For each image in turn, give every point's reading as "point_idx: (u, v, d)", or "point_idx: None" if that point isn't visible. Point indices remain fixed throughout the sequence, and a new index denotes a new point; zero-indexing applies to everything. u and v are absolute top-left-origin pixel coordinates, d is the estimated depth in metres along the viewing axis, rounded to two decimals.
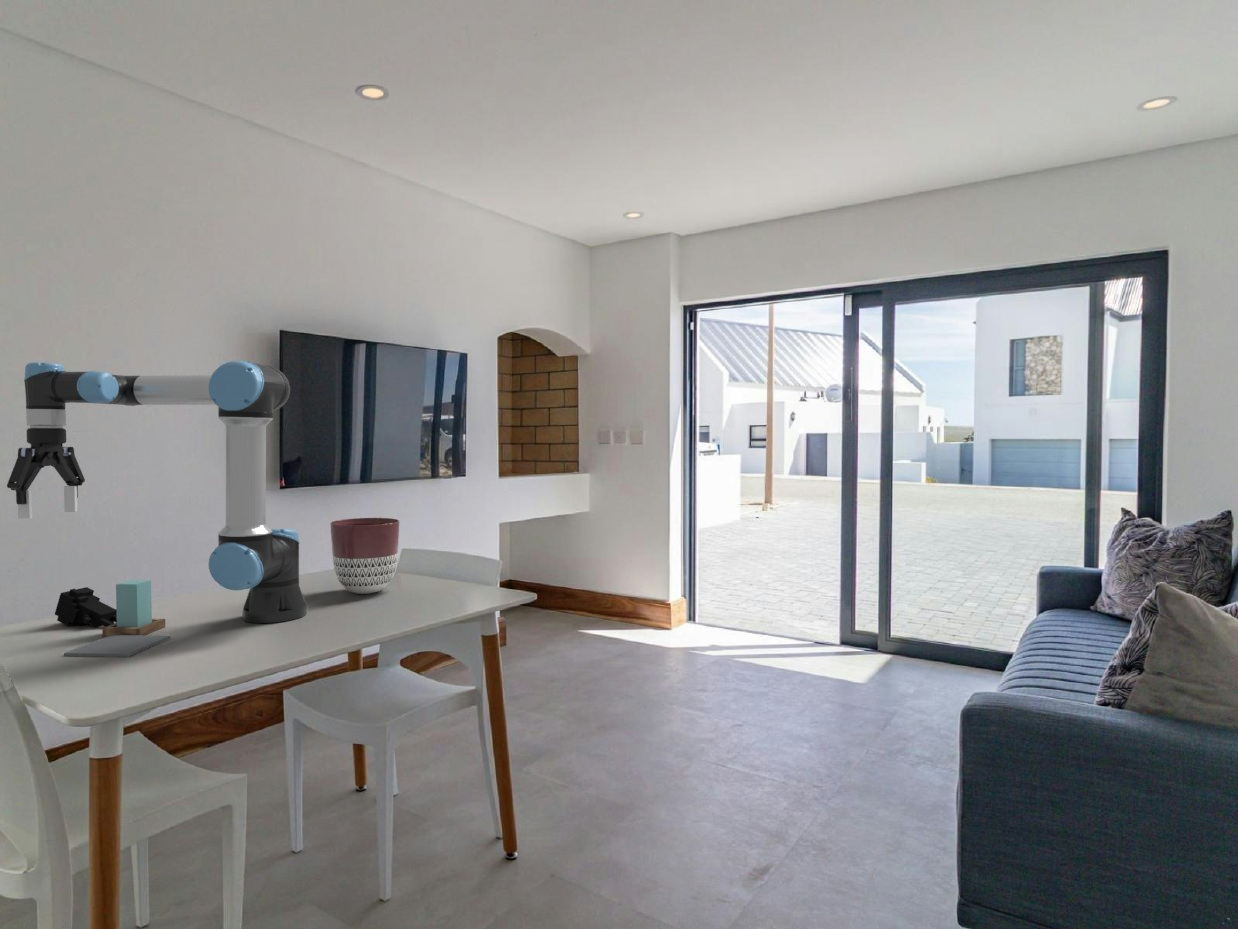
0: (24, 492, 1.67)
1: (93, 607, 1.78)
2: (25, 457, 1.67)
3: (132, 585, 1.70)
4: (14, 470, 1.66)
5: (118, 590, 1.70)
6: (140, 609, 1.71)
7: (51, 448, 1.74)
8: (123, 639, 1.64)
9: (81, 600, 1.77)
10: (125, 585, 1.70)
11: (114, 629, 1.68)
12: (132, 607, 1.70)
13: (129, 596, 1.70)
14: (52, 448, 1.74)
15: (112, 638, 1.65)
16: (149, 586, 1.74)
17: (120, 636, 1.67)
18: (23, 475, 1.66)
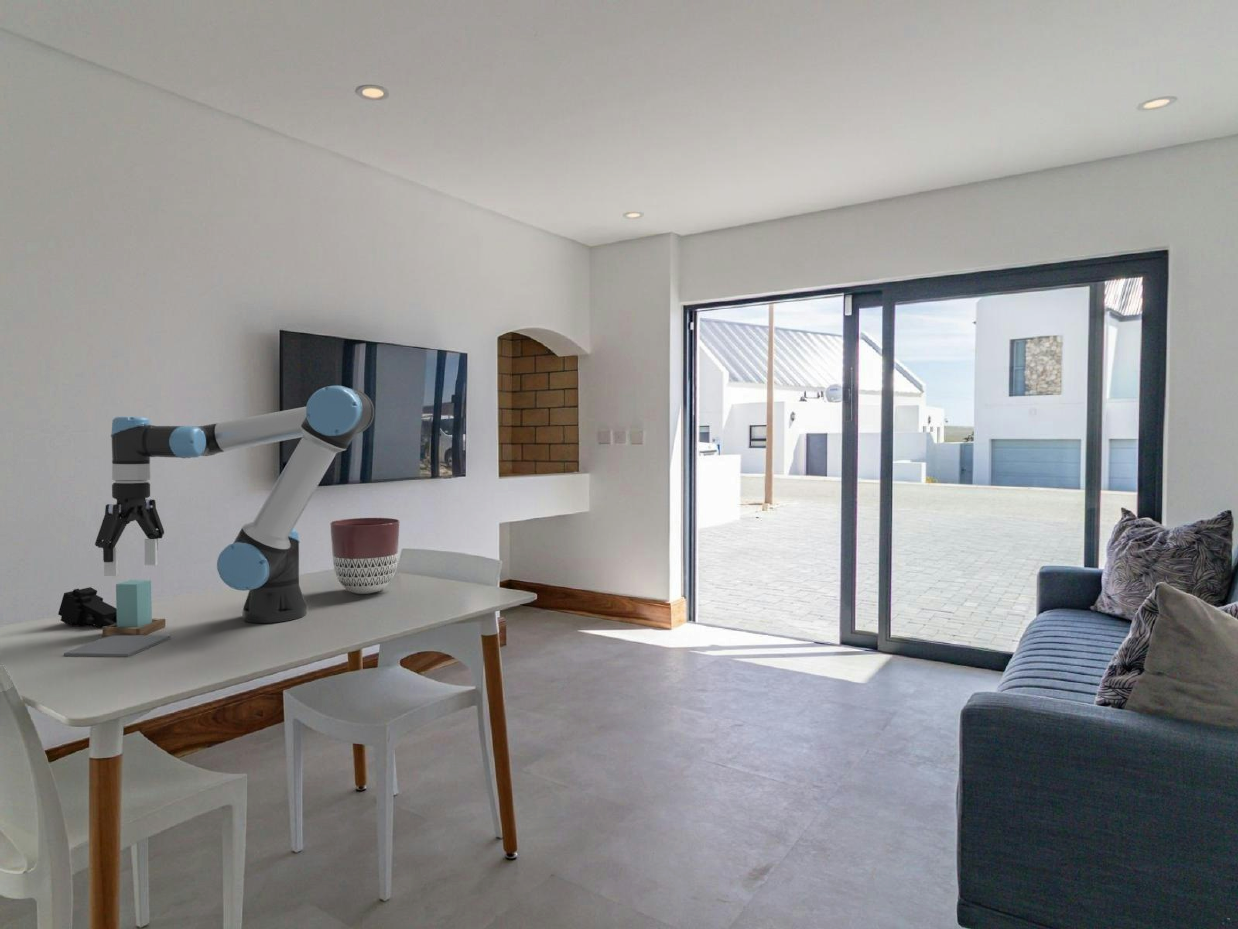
0: (111, 550, 1.64)
1: (96, 607, 1.78)
2: (112, 514, 1.65)
3: (132, 585, 1.70)
4: (102, 527, 1.63)
5: (118, 590, 1.70)
6: (140, 609, 1.71)
7: (135, 503, 1.72)
8: (123, 639, 1.64)
9: (84, 600, 1.77)
10: (125, 585, 1.70)
11: (114, 629, 1.68)
12: (132, 607, 1.70)
13: (129, 596, 1.70)
14: (136, 503, 1.72)
15: (112, 638, 1.65)
16: (149, 586, 1.74)
17: (120, 636, 1.67)
18: (111, 533, 1.64)
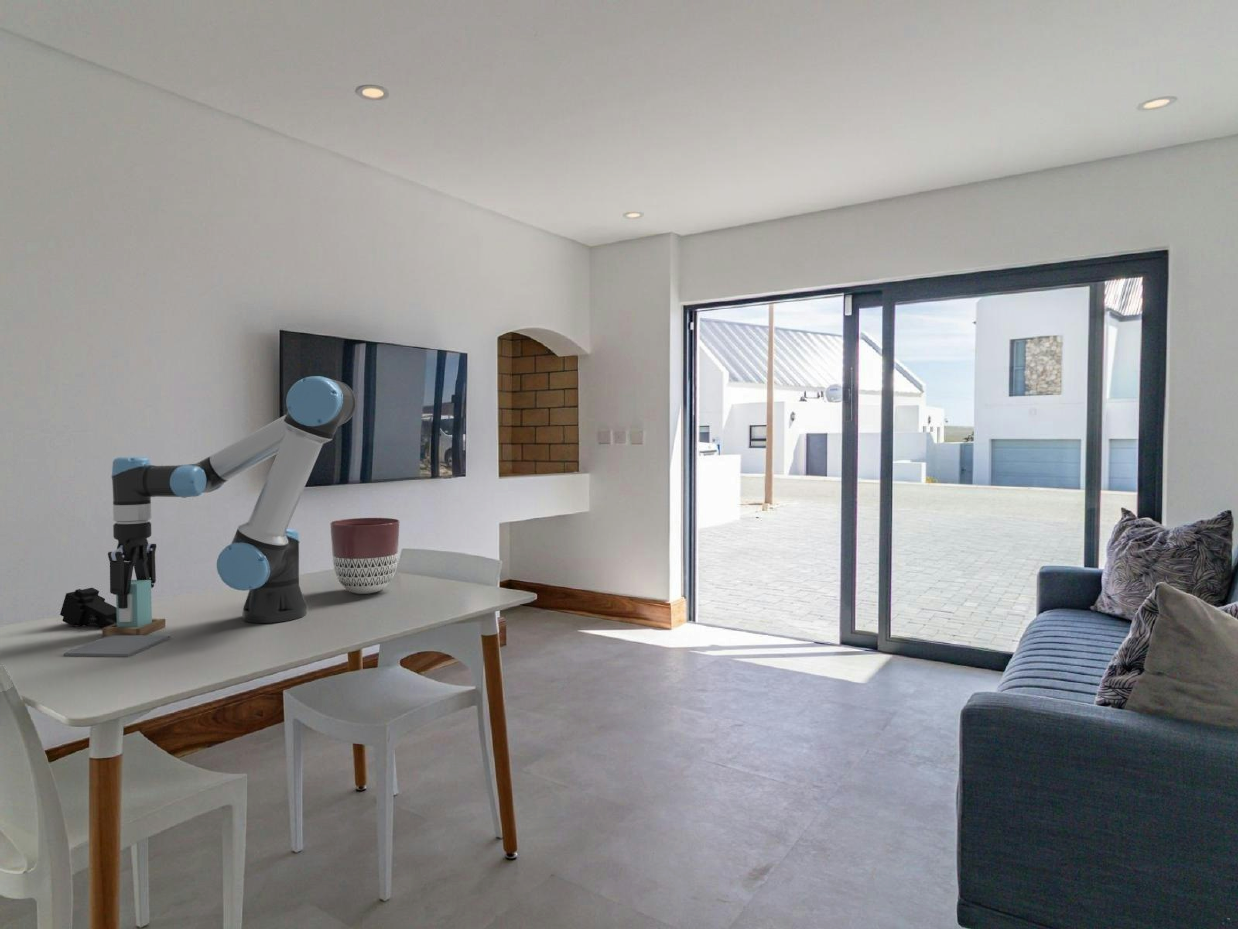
0: (125, 596, 1.69)
1: (98, 607, 1.78)
2: (117, 562, 1.66)
3: (132, 585, 1.70)
4: (111, 576, 1.66)
5: None
6: (140, 609, 1.71)
7: (137, 543, 1.72)
8: (123, 639, 1.64)
9: (86, 600, 1.77)
10: None
11: (114, 629, 1.68)
12: (132, 607, 1.70)
13: None
14: (138, 542, 1.72)
15: (112, 638, 1.65)
16: (149, 586, 1.74)
17: (120, 636, 1.67)
18: (122, 580, 1.67)
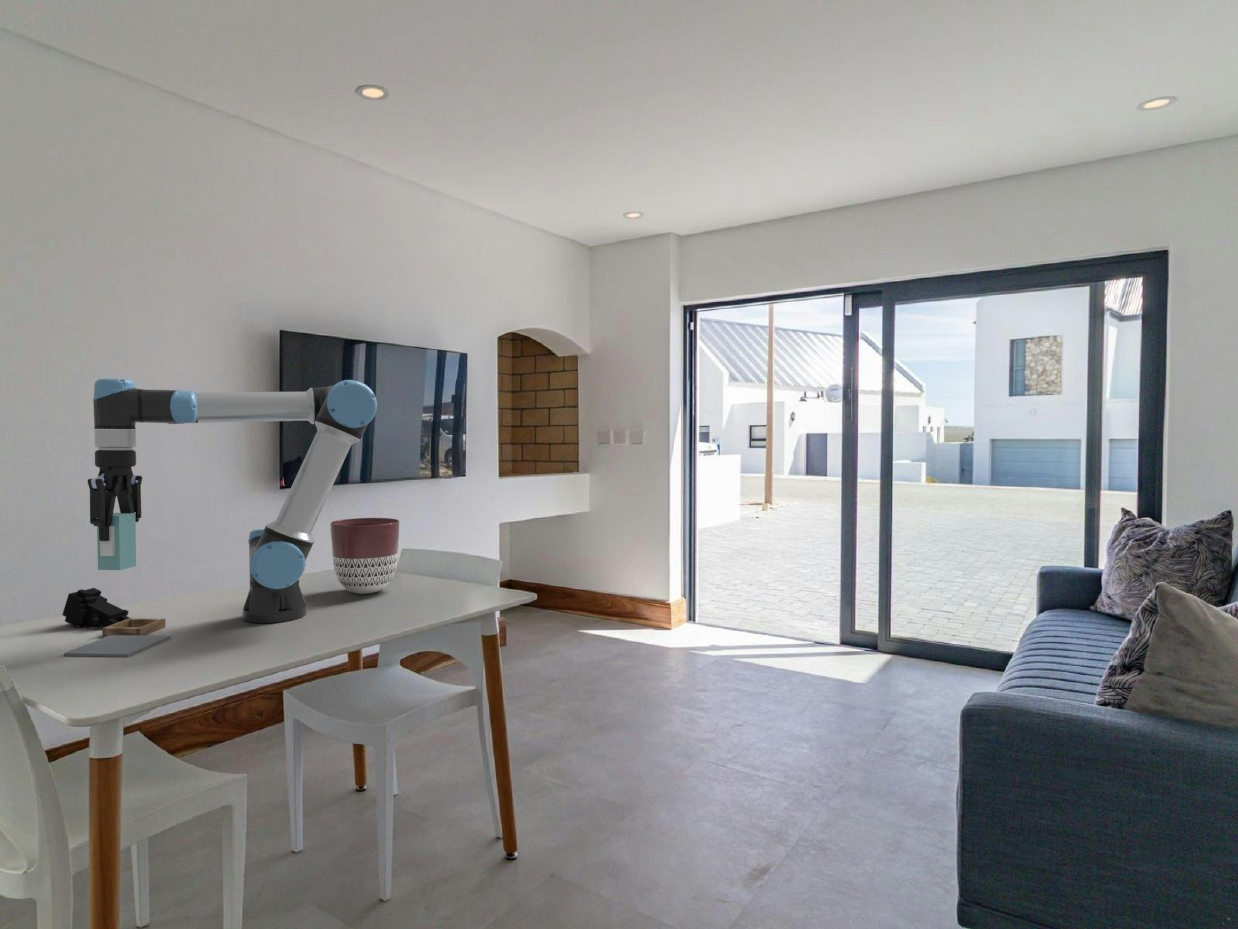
0: (107, 528, 1.57)
1: (101, 607, 1.77)
2: (98, 490, 1.54)
3: (114, 516, 1.58)
4: (91, 505, 1.54)
5: None
6: (123, 543, 1.59)
7: (120, 472, 1.60)
8: (123, 639, 1.64)
9: (89, 601, 1.77)
10: None
11: (114, 629, 1.68)
12: None
13: None
14: (121, 472, 1.60)
15: (112, 638, 1.65)
16: (133, 519, 1.62)
17: (120, 636, 1.67)
18: (103, 509, 1.55)
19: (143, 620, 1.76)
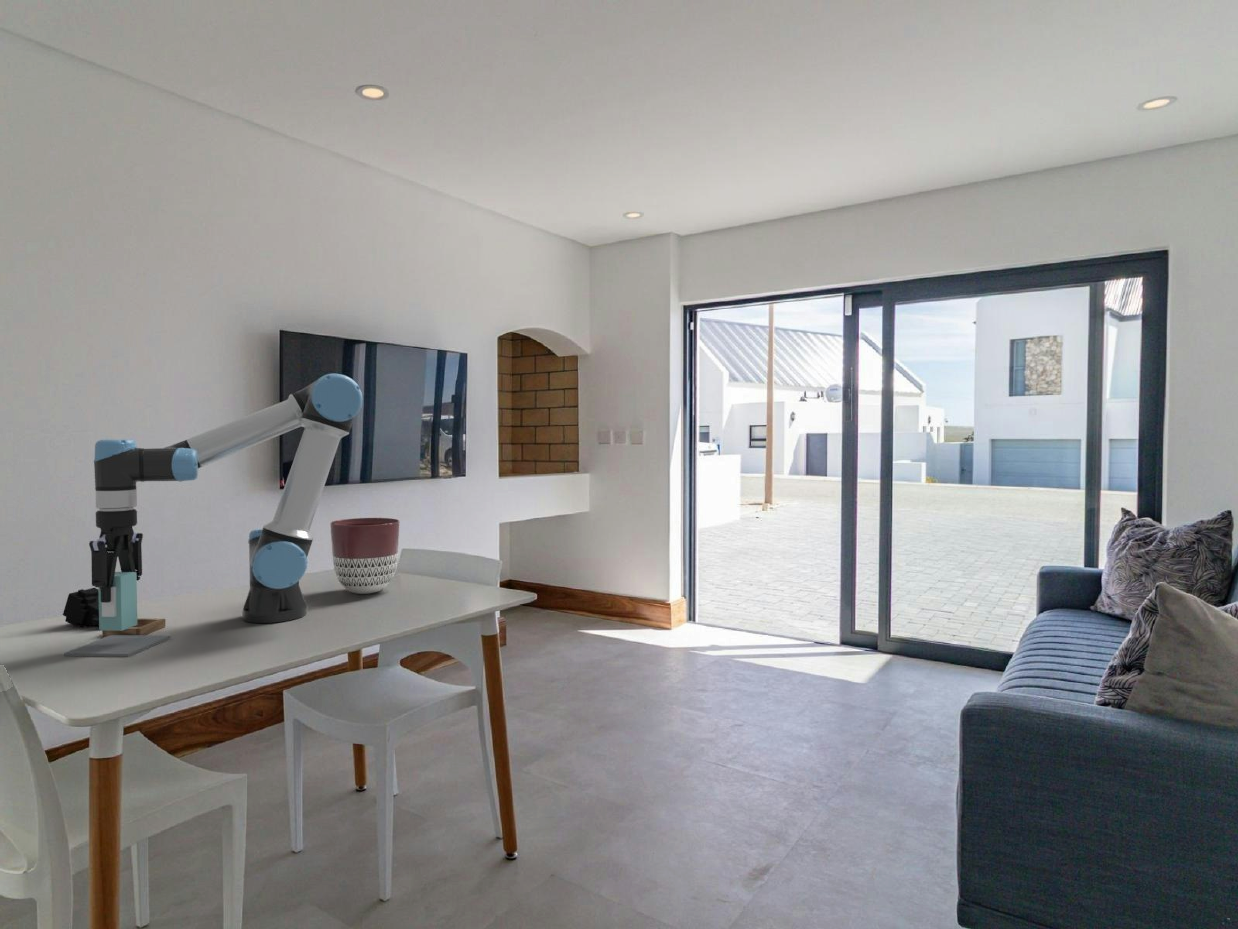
0: (109, 589, 1.57)
1: None
2: (100, 552, 1.54)
3: (116, 577, 1.58)
4: (93, 567, 1.54)
5: None
6: (124, 603, 1.59)
7: (121, 532, 1.60)
8: (123, 639, 1.64)
9: (89, 601, 1.77)
10: None
11: None
12: None
13: None
14: (122, 531, 1.60)
15: (112, 638, 1.65)
16: (134, 578, 1.62)
17: (120, 636, 1.67)
18: (104, 571, 1.55)
19: (143, 620, 1.76)
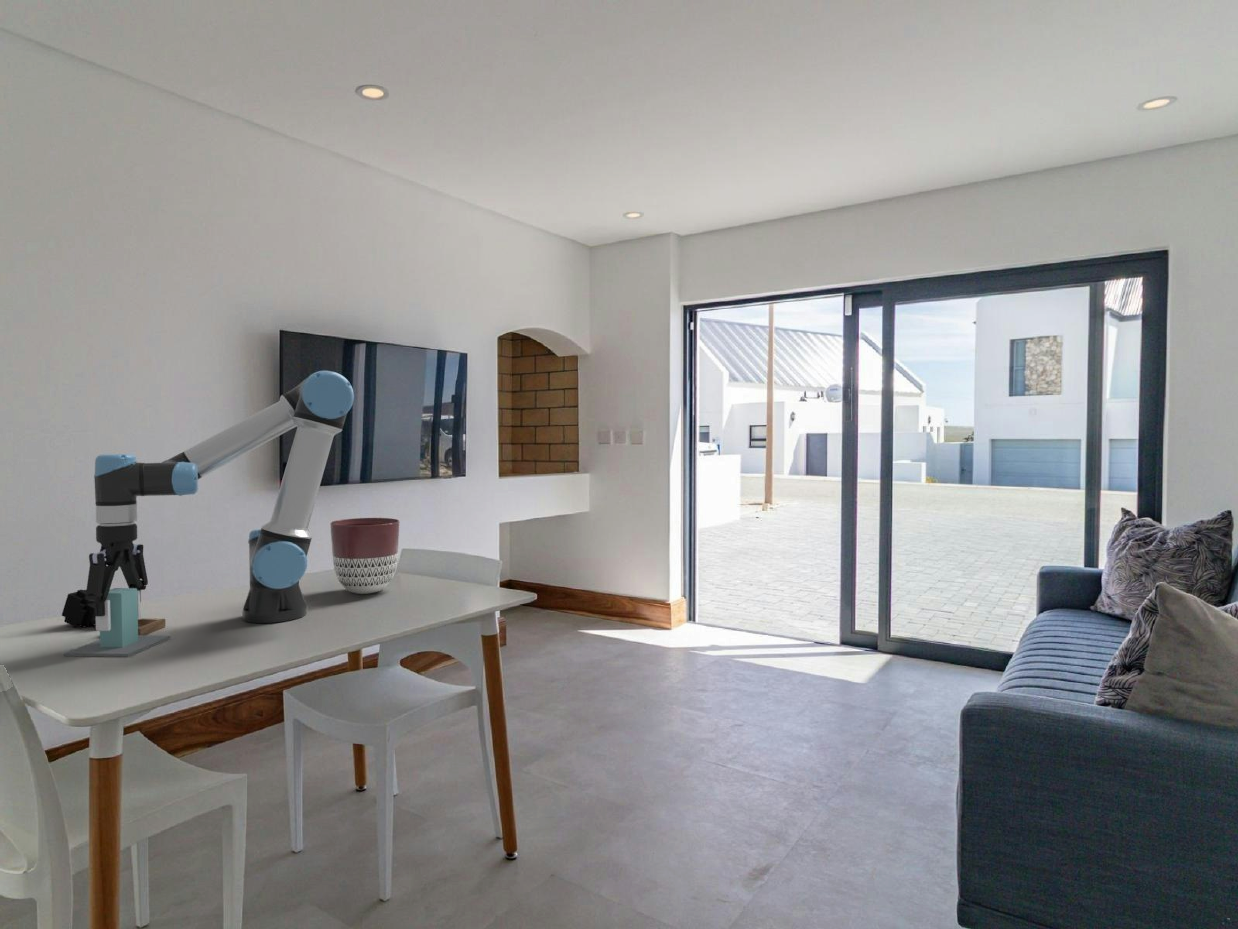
0: (103, 603, 1.55)
1: None
2: (98, 564, 1.53)
3: (116, 594, 1.58)
4: (89, 580, 1.53)
5: None
6: (125, 619, 1.59)
7: (122, 546, 1.60)
8: None
9: (89, 601, 1.77)
10: (109, 594, 1.58)
11: None
12: (116, 618, 1.58)
13: (114, 605, 1.58)
14: (123, 546, 1.60)
15: None
16: (135, 595, 1.62)
17: None
18: (100, 585, 1.53)
19: (143, 620, 1.76)
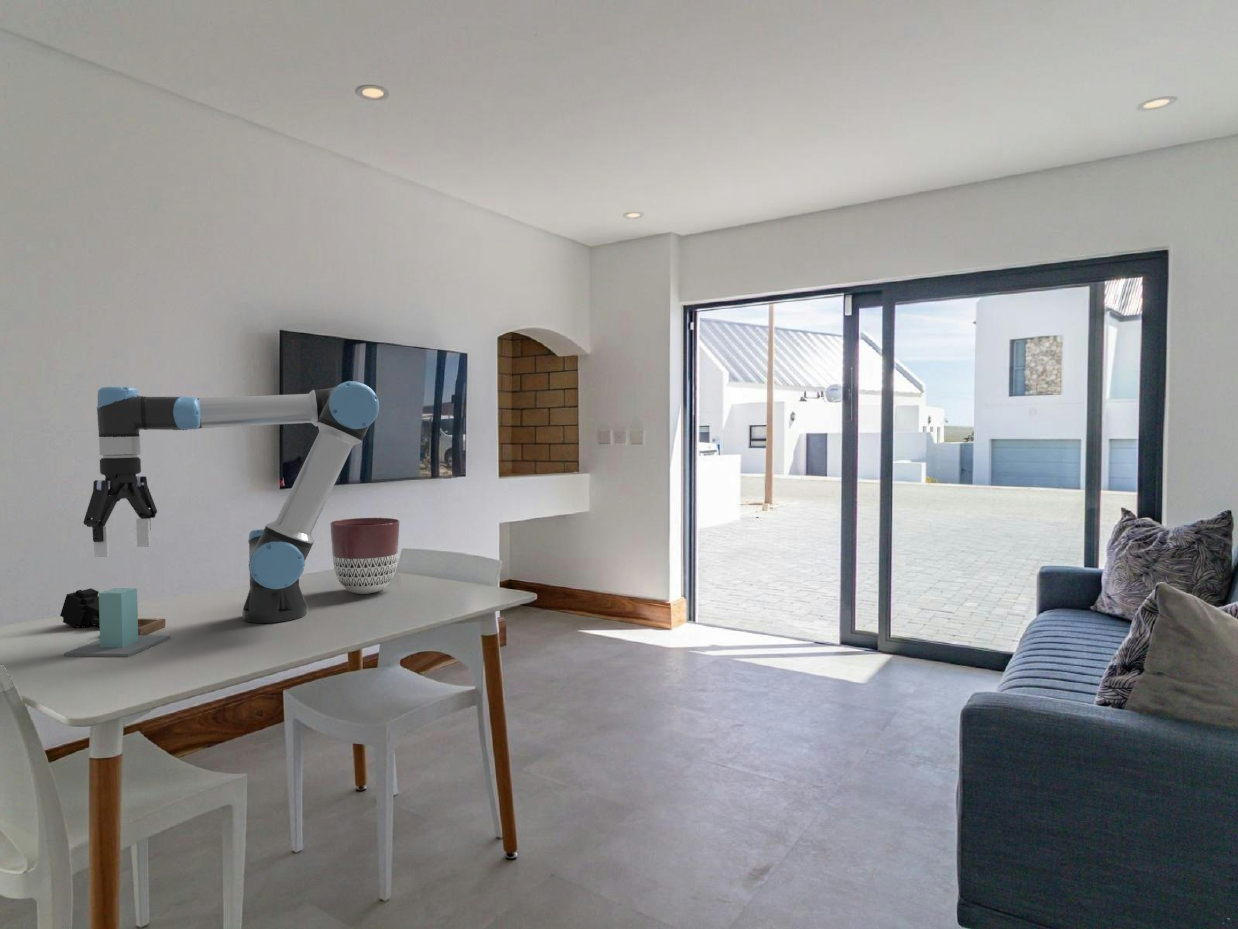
0: (101, 529, 1.53)
1: None
2: (101, 490, 1.54)
3: (116, 594, 1.58)
4: (90, 505, 1.52)
5: (101, 599, 1.58)
6: (125, 619, 1.59)
7: (125, 479, 1.61)
8: None
9: (88, 601, 1.76)
10: (109, 594, 1.58)
11: None
12: (116, 618, 1.58)
13: (114, 605, 1.58)
14: (126, 479, 1.61)
15: None
16: (135, 595, 1.62)
17: None
18: (100, 510, 1.53)
19: (143, 620, 1.76)
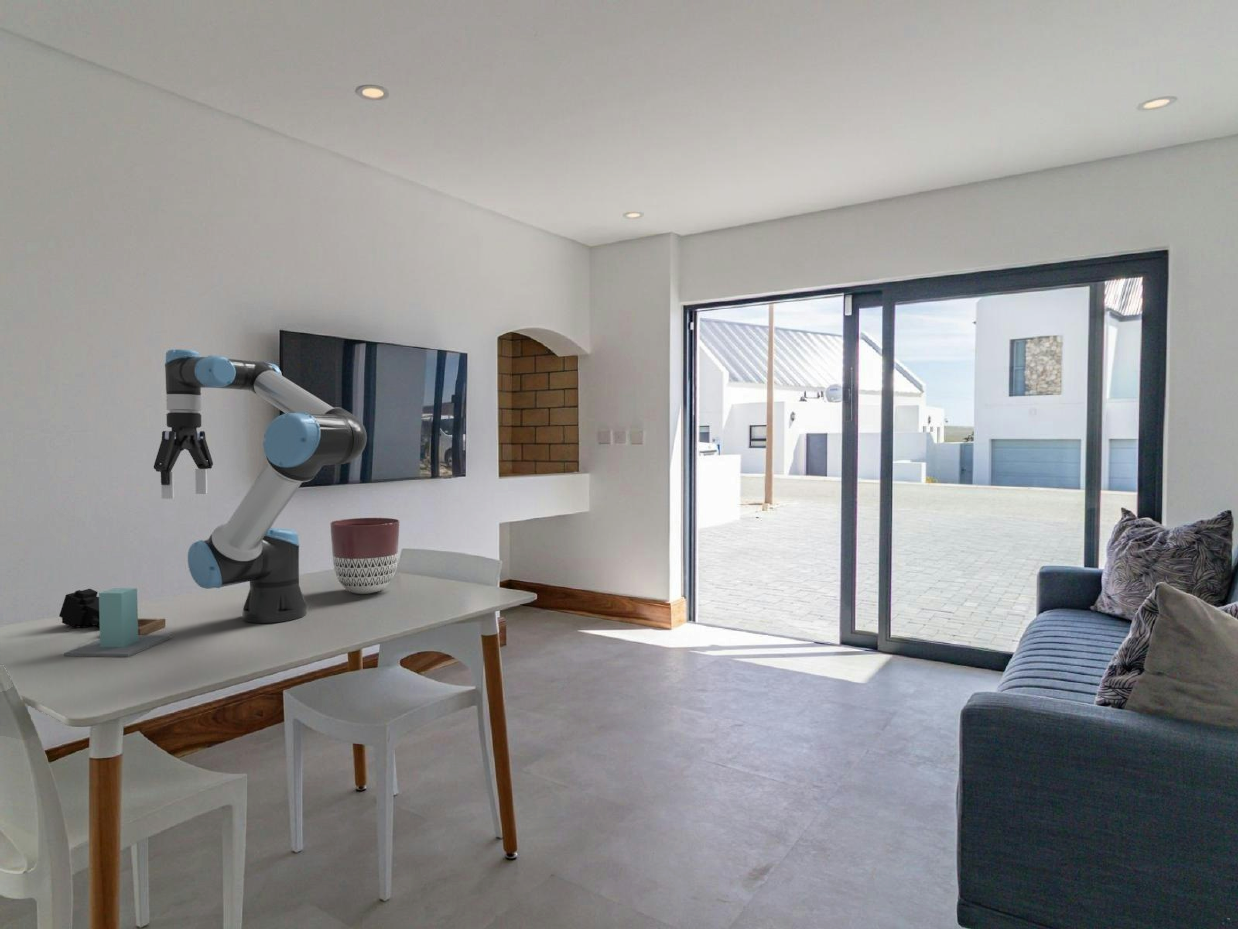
0: (168, 473, 1.75)
1: None
2: (169, 440, 1.75)
3: (116, 594, 1.58)
4: (159, 452, 1.74)
5: (101, 599, 1.58)
6: (125, 619, 1.59)
7: (188, 432, 1.82)
8: None
9: (87, 601, 1.76)
10: (109, 594, 1.58)
11: None
12: (116, 618, 1.58)
13: (114, 605, 1.58)
14: (189, 432, 1.82)
15: None
16: (135, 595, 1.62)
17: None
18: (168, 457, 1.74)
19: (143, 620, 1.76)
